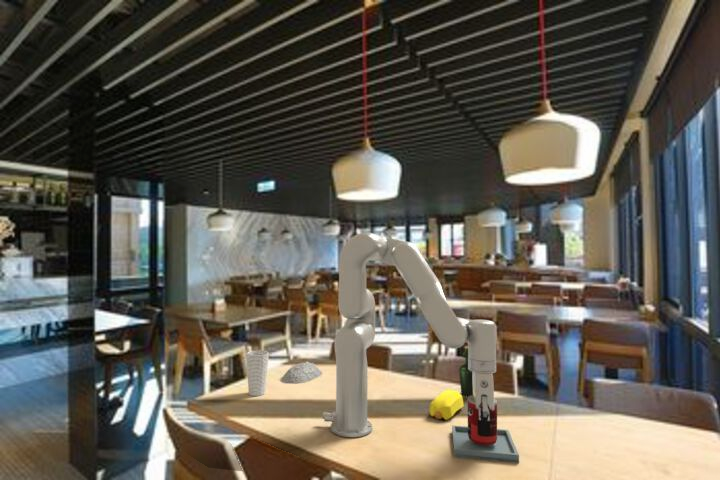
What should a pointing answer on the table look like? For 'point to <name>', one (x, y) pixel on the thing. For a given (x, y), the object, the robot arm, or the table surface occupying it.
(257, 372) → the cup
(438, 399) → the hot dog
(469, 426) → the canned food
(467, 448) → the tray
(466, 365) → the potion bottle
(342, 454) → the table surface
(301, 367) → the grey rock
